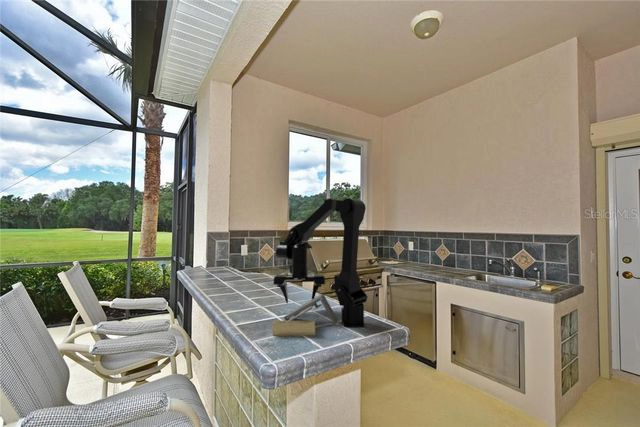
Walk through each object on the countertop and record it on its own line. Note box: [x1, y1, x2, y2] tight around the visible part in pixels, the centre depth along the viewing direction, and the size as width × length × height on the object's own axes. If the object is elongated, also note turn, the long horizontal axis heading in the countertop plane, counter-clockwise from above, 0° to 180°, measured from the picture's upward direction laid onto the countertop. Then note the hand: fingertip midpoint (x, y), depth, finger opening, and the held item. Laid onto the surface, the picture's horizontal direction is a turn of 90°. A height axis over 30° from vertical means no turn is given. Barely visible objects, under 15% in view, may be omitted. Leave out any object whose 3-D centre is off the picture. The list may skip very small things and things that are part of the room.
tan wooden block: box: [272, 320, 316, 337], centre depth 82 cm, size 12×3×4 cm, turn 90°
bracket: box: [283, 293, 339, 325], centre depth 89 cm, size 10×14×10 cm
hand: (299, 302), depth 104 cm, fingers open, 9 cm apart
